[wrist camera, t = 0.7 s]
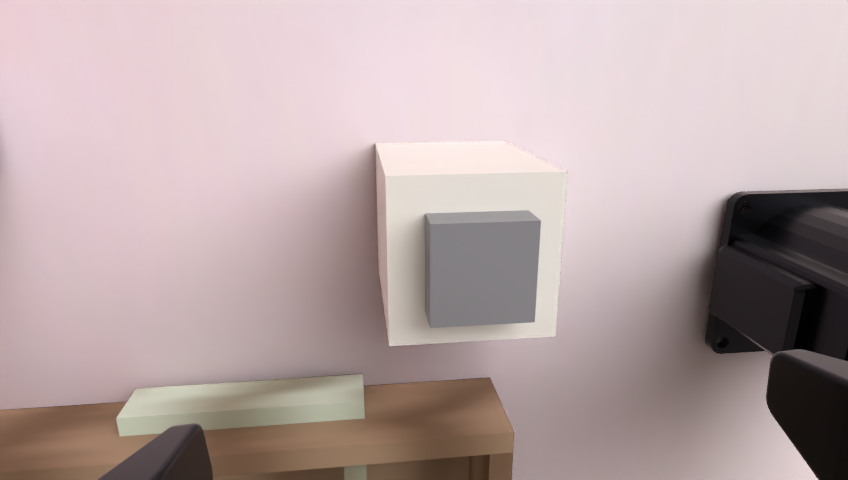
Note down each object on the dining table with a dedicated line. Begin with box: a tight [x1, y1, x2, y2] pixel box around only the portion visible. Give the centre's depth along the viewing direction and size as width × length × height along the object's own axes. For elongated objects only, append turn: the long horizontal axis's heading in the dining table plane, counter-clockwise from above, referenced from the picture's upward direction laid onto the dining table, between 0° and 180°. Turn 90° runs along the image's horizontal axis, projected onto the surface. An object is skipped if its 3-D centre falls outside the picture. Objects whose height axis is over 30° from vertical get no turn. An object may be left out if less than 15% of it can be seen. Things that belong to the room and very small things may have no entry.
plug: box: [375, 141, 568, 346], centre depth 17 cm, size 4×4×7 cm
